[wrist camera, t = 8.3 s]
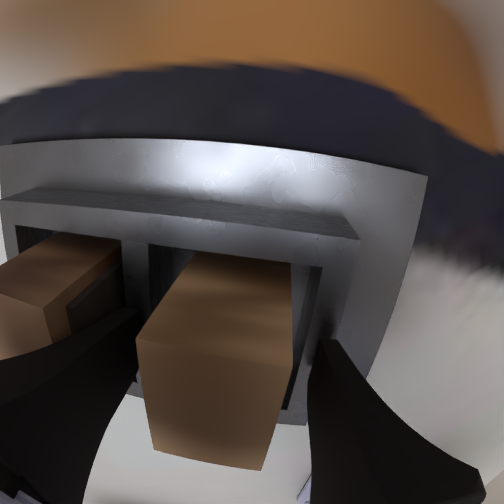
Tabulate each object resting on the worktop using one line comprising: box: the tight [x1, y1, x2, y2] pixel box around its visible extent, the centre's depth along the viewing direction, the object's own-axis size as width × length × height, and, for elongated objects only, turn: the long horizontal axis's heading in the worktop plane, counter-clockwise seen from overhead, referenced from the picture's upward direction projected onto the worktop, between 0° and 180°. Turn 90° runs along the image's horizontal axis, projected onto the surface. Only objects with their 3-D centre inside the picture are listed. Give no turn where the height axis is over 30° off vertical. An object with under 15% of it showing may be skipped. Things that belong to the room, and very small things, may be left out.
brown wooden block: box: [0, 231, 126, 360], centre depth 11 cm, size 4×5×6 cm
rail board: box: [0, 138, 428, 426], centre depth 12 cm, size 20×13×4 cm, turn 84°
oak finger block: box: [136, 250, 293, 471], centre depth 10 cm, size 4×5×6 cm
